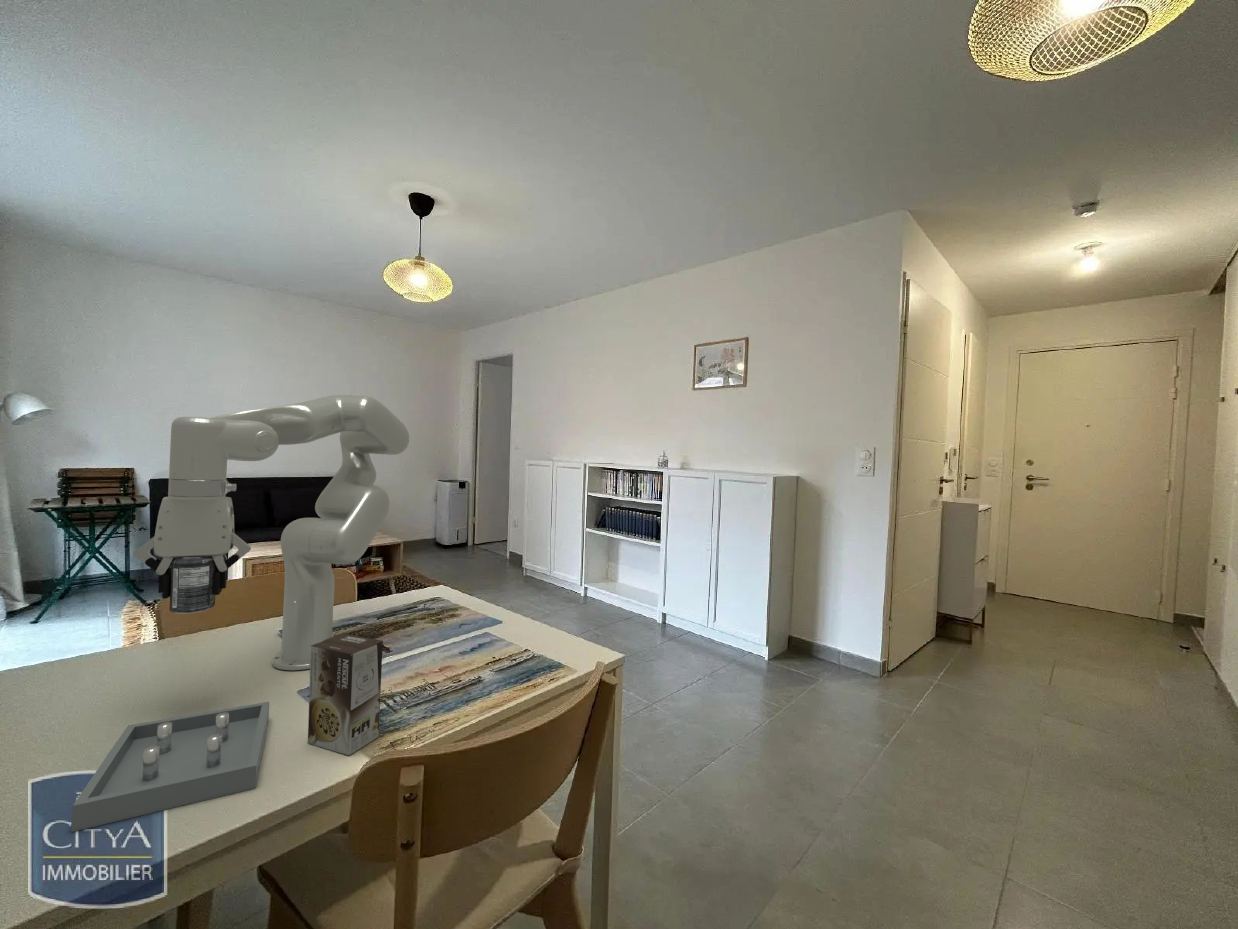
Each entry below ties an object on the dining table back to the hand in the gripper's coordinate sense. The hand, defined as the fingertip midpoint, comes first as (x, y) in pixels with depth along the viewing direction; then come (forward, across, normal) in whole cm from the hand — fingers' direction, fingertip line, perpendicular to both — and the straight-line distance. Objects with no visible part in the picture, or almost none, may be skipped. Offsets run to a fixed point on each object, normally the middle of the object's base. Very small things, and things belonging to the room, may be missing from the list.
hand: (193, 593), depth 85 cm
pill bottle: (+3, 0, 0) cm, 3 cm away
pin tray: (+22, -3, +16) cm, 27 cm away
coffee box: (+22, -23, +18) cm, 36 cm away
